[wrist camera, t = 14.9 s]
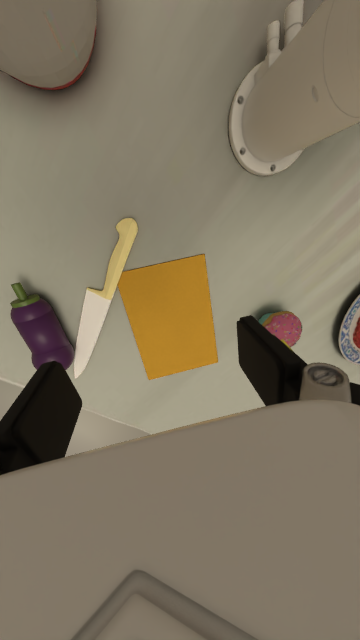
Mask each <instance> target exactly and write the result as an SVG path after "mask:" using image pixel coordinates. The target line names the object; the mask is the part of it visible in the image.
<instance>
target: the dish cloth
mask: <svg viewBox="0 0 360 640" xmlns="http://www.w3.org/2000/svg"><path fill="white" fill-rule="evenodd" d="M117 285H118V288H119V291H120V294H121V297H122V300H123V303H124V306H125V309H126V312H127V315H128V318H129V321H130V324H131V327H132V330H133V333H134V336H135V339H136V342H137V346H138V349H139V352H140V355H141V358H142V361H143V364H144V367H145V370H146V373H147V376H148V379H149V380H151V379H155V378H159V377H163V376H167V375H171V374H174V373H178V372H182V371H186V370H190V369H194V368H198V367H202V366H205V365H209V364H213V363H217V362H218V357H217V349H216V341H215V333H214V325H213V317H212V309H211V301H210V293H209V286H208V278H207V270H206V262H205V254H201V255H197V256H192V257H188V258H183V259H179V260H174V261H169V262H165V263H160V264H156V265H151V266H147V267H142V268H138V269H133V270H129V271H124V272H122V273H121V276H120V279H119V282H118V284H117Z"/></svg>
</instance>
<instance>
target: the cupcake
mask: <svg viewBox="0 0 360 640" xmlns="http://www.w3.org/2000/svg"><path fill="white" fill-rule="evenodd" d="M258 322H259V323H260V324H261V325H263V326H264V327H265V328H266V329H267V330H268V331H269V332H270V333H271V334H273V335H275V336H276V337H277V338H278V339H280V340H281V341H282V342H283V343H284V344H285V345H286V346H287V347H289V348H290V347H291V346H293V345H294V344H296V342H297V341H298V340H299V339H300V337H301V336H300V335H301V332H302V325H301V322H300V320H299V318H298V317H296V316H295V315H294V314H293V313H292V312H289V311H282V312H277V313H267V314H265V315H263V316H262V317H261V318H260V319H259V321H258ZM290 349H291V348H290ZM291 350H292V349H291Z"/></svg>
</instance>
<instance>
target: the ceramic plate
mask: <svg viewBox="0 0 360 640" xmlns="http://www.w3.org/2000/svg"><path fill="white" fill-rule="evenodd" d="M339 348H340V351H341V353H342V355H343V356H344V357H345V358H346V359H347V360H348V361H349V362H351V363H353V364H356V365H360V294H359V296H358V297H357V298H356V299H355V301H354V302H353V303H352V305H351V306H350V308H349V309H348V311H347V313H346V315H345V317H344V319H343V322H342V324H341V327H340V332H339Z"/></svg>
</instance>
